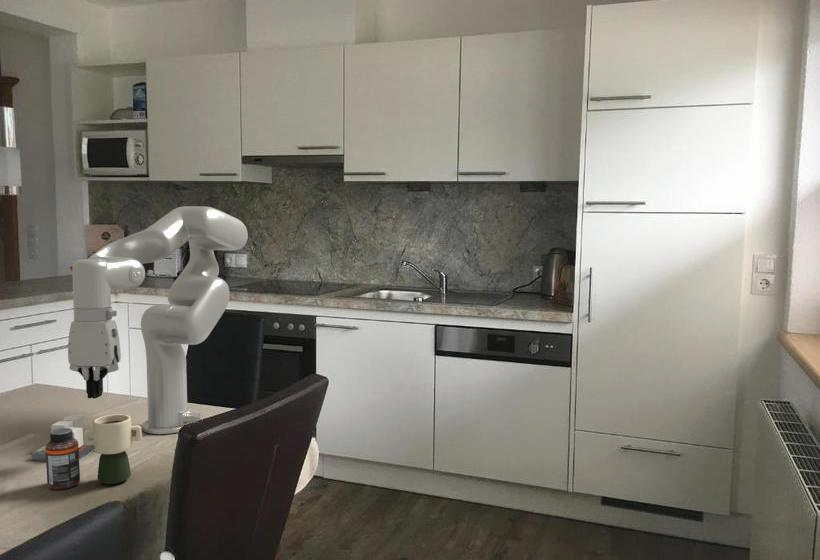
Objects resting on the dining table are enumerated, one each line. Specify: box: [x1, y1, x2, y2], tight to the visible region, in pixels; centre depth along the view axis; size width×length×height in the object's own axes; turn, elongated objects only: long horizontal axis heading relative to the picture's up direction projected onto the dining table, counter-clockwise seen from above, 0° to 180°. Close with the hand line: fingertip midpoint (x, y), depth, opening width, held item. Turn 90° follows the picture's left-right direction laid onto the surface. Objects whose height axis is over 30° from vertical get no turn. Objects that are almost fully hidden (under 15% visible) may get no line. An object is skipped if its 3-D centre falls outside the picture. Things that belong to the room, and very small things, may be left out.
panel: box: [30, 434, 95, 462], centre depth 158 cm, size 10×16×2 cm, turn 176°
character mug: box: [83, 413, 143, 485], centre depth 138 cm, size 11×7×13 cm, turn 108°
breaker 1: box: [51, 420, 73, 431], centre depth 158 cm, size 3×3×4 cm
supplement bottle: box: [44, 428, 81, 491], centre depth 136 cm, size 6×6×11 cm
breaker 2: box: [62, 414, 85, 432], centre depth 162 cm, size 3×3×4 cm
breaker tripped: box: [70, 427, 83, 447], centre depth 153 cm, size 3×3×4 cm
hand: (94, 396), depth 151 cm, fingers closed
